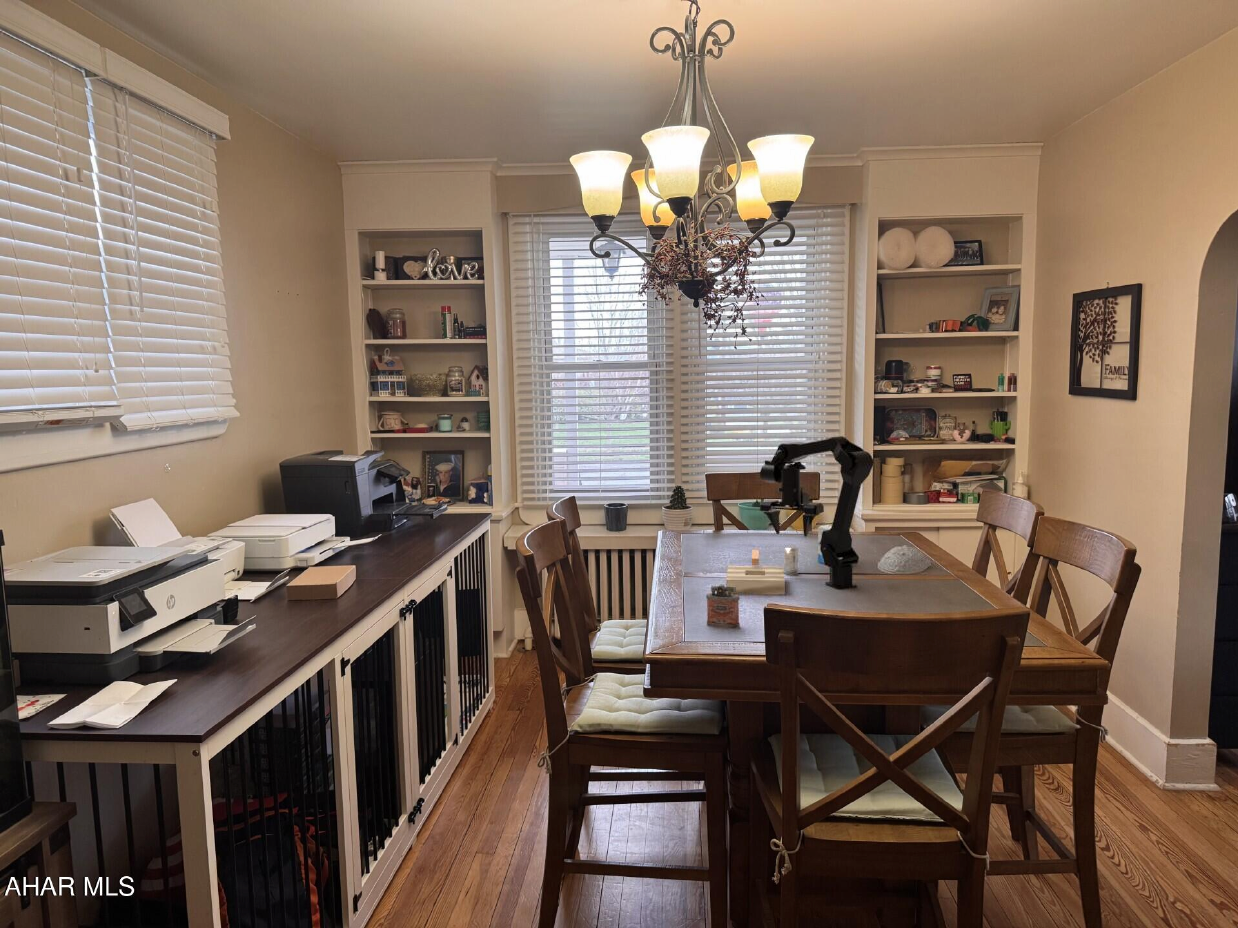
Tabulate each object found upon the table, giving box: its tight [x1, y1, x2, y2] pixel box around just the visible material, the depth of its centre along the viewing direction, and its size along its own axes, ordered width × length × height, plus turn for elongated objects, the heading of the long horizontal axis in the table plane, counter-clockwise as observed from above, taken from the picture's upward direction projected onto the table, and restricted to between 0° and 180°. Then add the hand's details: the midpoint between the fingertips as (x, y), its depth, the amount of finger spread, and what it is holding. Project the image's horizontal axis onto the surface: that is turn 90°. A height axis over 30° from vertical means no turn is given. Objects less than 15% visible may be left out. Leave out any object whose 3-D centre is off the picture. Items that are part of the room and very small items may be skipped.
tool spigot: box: [784, 546, 799, 577], centre depth 239 cm, size 4×4×8 cm
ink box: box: [817, 524, 843, 565], centre depth 252 cm, size 9×5×12 cm, turn 113°
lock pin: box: [751, 549, 760, 566], centre depth 240 cm, size 12×2×2 cm, turn 170°
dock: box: [725, 565, 786, 595], centre depth 226 cm, size 16×16×4 cm
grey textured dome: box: [877, 545, 932, 575], centre depth 247 cm, size 16×25×7 cm, turn 151°
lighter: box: [705, 584, 741, 629], centre depth 191 cm, size 8×3×10 cm, turn 69°
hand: (791, 535), depth 239 cm, fingers open, 9 cm apart
